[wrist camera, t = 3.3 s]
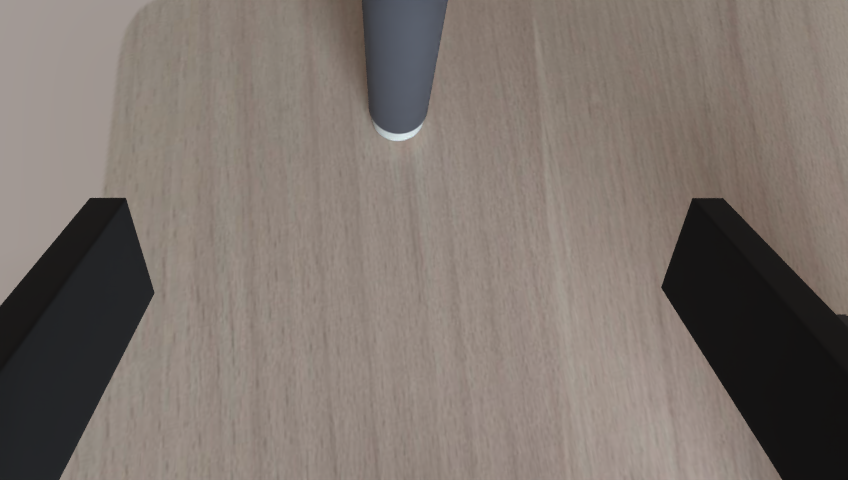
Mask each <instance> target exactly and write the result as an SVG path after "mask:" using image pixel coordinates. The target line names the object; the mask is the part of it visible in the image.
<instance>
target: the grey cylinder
mask: <svg viewBox="0 0 848 480" xmlns="http://www.w3.org/2000/svg"><path fill="white" fill-rule="evenodd" d="M447 2H448V0H362V10H363V25H364V41H365V56H366V72H367V87H368V102H369V112H370V115H371V117H372V123H373V125H374V127H375V129H376V130H377V132H378V133H379V134H380V135H382V136H383V137H385V138H387V139H389V140H393V141H403V140H407V139H410V138H411V137H413V136H415V135H416V134H417V133H418V132H419V130H420V129H421V127H422V125H423V121H424V119H425V117H426V114H427V110H428V105H429V99H430V94H431V89H432V83H433V78H434V72H435V67H436V62H437V56H438V51H439V45H440V40H441V35H442V29H443V24H444V19H445V13H446V8H447Z"/></svg>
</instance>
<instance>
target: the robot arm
mask: <svg viewBox="0 0 848 480" xmlns="http://www.w3.org/2000/svg"><path fill="white" fill-rule="evenodd" d="M661 288H662V290H663V291H664V293H665V294H666V296H667V298H668V299H669V301H670V302H671V304H672V306H673V307H674V309H675V310H676V312H677V313H678V315H679V317H680V318H681V320H682V321H683V323H684V325H685V326H686V328H687V329H688V331H689V332H690V334H691V336H692V337H693V339H694V340H695V342H696V344H697V345H698V347H699V348H700V350H701V351H702V353H703V355H704V356H705V358H706V359H707V361H708V363H709V364H710V366H711V367H712V369H713V370H714V372H715V374H716V375H717V377H718V378H719V380H720V381H721V383H722V385H723V386H724V388H725V389H726V391H727V393H728V394H729V396H730V397H731V399H732V400H733V402H734V404H735V405H736V407H737V408H738V410H739V412H740V413H741V415H742V416H743V418H744V419H745V421H746V423H747V424H748V426H749V427H750V429H751V431H752V432H753V434H754V435H755V437H756V438H757V440H758V442H759V443H760V445H761V446H762V448H763V450H764V451H765V453H766V454H767V456H768V457H769V459H770V461H771V462H772V464H773V465H774V467H775V469H776V470H777V472H778V473H779V475H780V476H781V478H782V480H848V316H847V315H836V314H835V313H834V312H833V311H832V310H831V309H830V308H829V307H828V306H827V305H826V304H825V303H824V302H823V301H822V300H821V299H820V298H819V297H818V296H817V295H816V294H815V293H814V292H813V290H812V289H811V288H810V287H809V286H808V285H807V284H806V283H805V282H804V281H803V280H802V279H801V278H800V277H799V276H798V275H797V274H796V273H795V272H794V271H793V270H792V269H791V268H790V267H789V266H788V265H787V264H786V263H785V262H784V261H783V260H782V258H781V257H780V256H779V255H778V254H777V253H776V252H775V251H774V250H773V249H772V248H771V247H770V246H769V245H768V244H767V243H766V242H765V241H764V240H763V239H762V238H761V237H760V236H759V235H758V234H757V233H756V232H755V231H754V230H753V229H752V228H751V226H750V225H749V224H748V223H747V222H746V221H745V220H744V219H743V218H742V217H741V216H740V215H739V214H738V213H737V212H736V211H735V210H734V209H733V208H732V207H731V206H730V205H729V204H728V203H727V202H726V201H725V200H724V199H723V198H692V201H691V204H690V207H689V209H688V212H687V215H686V218H685V221H684V224H683V227H682V229H681V232H680V235H679V238H678V241H677V244H676V247H675V249H674V252H673V255H672V258H671V261H670V264H669V266H668V269H667V272H666V275H665V278H664V281H663V284H662V286H661ZM153 295H154V290H153V286H152V283H151V280H150V276H149V273H148V270H147V267H146V263H145V260H144V257H143V253H142V250H141V247H140V243H139V240H138V237H137V234H136V230H135V227H134V224H133V220H132V217H131V214H130V210H129V207H128V204H127V200H126V198H90V199H89V200H88V201H87V202H86V204H85V205H84V206H83V207H82V209H81V210H80V211H79V212H78V213H77V214H76V216H75V217H74V218H73V219H72V220H71V222H70V223H69V224H68V225H67V226H66V228H65V229H64V230H63V231H62V233H61V234H60V235H59V236H58V237H57V238H56V240H55V241H54V242H53V243H52V245H51V246H50V247H49V248H48V249H47V251H46V252H45V253H44V254H43V255H42V257H41V258H40V259H39V260H38V261H37V263H36V264H35V265H34V266H33V268H32V269H31V270H30V271H29V272H28V273H27V275H26V276H25V277H24V278H23V279H22V281H21V282H20V283H19V284H18V285H17V287H16V288H15V289H14V290H13V291H12V293H11V294H10V295H9V296H8V297H7V299H6V300H5V301H4V302H3V303H2V305H1V306H0V480H59V479H60V477H61V475H62V473H63V471H64V469H65V467H66V465H67V464H68V462H69V460H70V458H71V456H72V454H73V452H74V450H75V448H76V446H77V444H78V442H79V440H80V438H81V436H82V434H83V432H84V430H85V428H86V426H87V424H88V422H89V420H90V418H91V416H92V415H93V413H94V411H95V409H96V407H97V405H98V403H99V401H100V399H101V397H102V395H103V393H104V391H105V389H106V387H107V385H108V383H109V381H110V379H111V377H112V375H113V373H114V371H115V369H116V368H117V366H118V364H119V362H120V360H121V358H122V356H123V354H124V352H125V350H126V348H127V346H128V344H129V342H130V340H131V338H132V336H133V334H134V332H135V330H136V328H137V326H138V324H139V322H140V320H141V319H142V317H143V315H144V313H145V311H146V309H147V307H148V305H149V303H150V301H151V299H152V297H153Z"/></svg>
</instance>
